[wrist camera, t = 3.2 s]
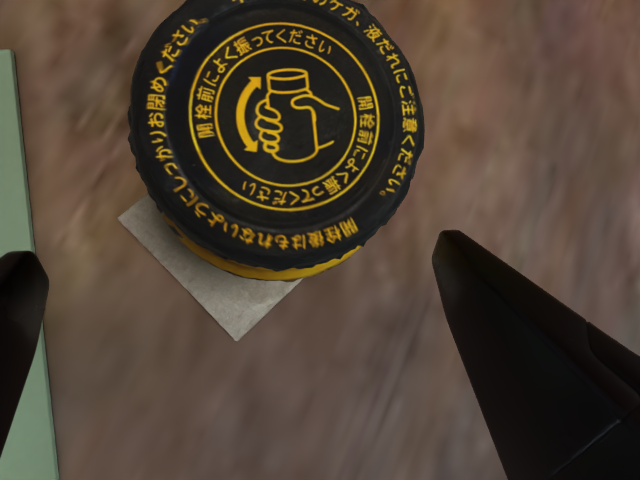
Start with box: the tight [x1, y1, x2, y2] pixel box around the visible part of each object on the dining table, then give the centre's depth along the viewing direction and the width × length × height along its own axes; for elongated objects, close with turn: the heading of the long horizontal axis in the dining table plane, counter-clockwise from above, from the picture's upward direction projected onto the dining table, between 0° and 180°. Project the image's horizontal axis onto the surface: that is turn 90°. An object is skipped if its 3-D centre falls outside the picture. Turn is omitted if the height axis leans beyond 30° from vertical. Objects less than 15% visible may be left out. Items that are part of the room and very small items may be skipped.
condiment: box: [117, 0, 424, 342], centre depth 13 cm, size 7×8×12 cm
